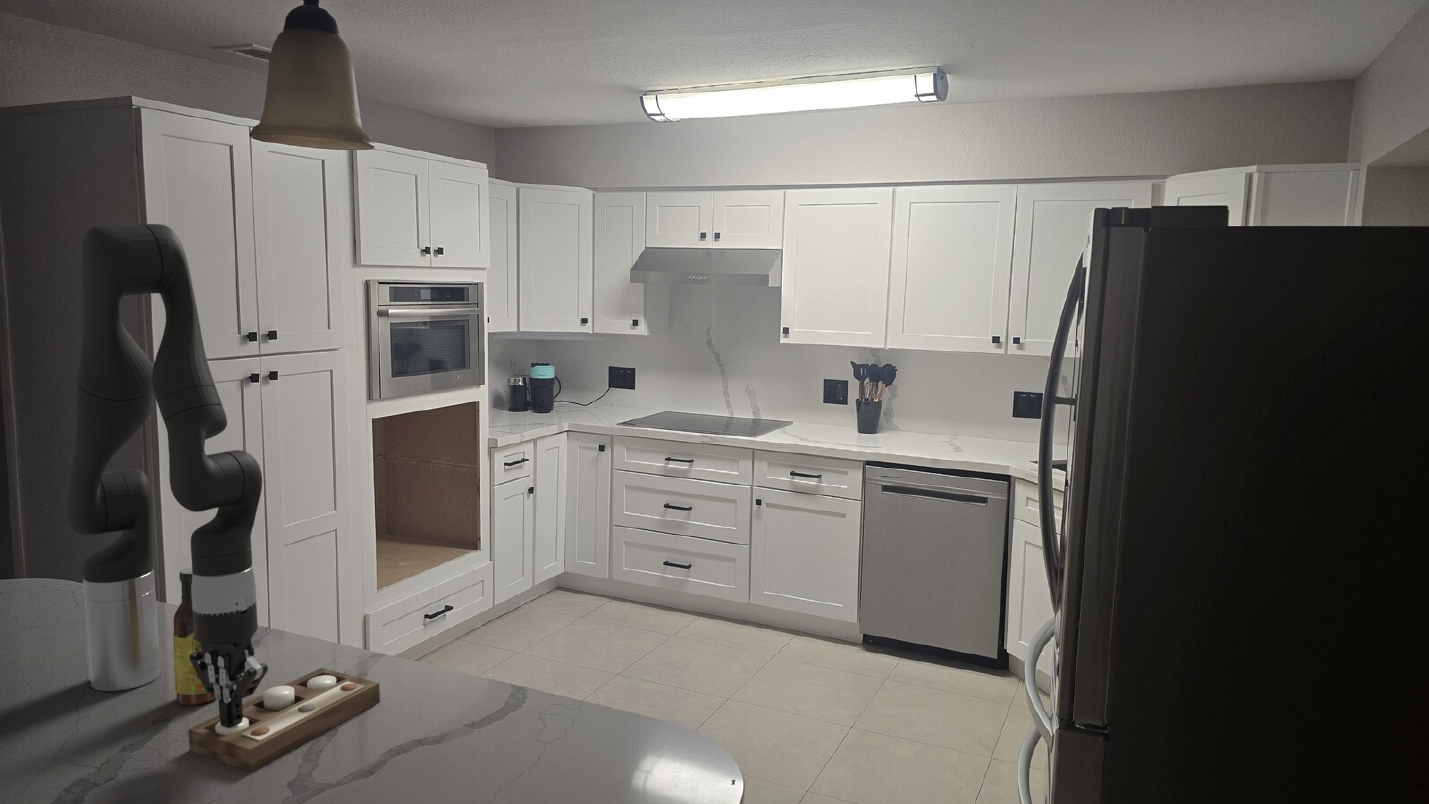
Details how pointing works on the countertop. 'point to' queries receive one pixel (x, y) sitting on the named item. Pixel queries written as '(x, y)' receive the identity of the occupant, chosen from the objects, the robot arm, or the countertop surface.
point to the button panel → (286, 721)
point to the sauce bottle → (187, 649)
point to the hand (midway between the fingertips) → (231, 724)
